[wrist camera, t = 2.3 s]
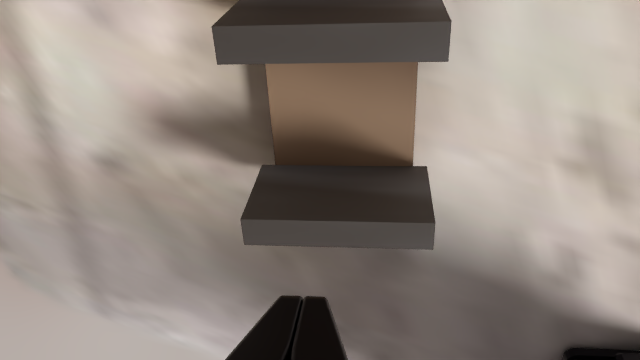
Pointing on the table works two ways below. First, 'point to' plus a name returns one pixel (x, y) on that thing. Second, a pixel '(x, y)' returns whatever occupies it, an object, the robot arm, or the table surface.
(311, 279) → the table surface
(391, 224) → the wooden frame
